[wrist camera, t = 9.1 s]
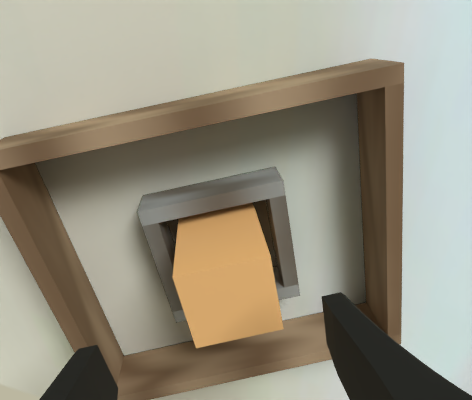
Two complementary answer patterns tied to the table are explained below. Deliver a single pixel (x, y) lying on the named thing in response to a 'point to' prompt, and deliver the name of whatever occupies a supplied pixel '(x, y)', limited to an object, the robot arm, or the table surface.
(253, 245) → the block
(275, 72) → the table surface
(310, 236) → the table surface
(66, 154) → the walled box
